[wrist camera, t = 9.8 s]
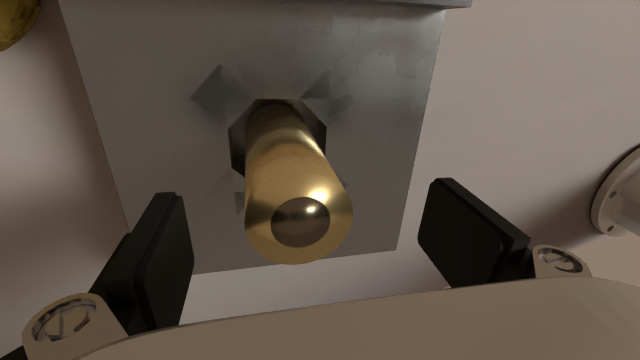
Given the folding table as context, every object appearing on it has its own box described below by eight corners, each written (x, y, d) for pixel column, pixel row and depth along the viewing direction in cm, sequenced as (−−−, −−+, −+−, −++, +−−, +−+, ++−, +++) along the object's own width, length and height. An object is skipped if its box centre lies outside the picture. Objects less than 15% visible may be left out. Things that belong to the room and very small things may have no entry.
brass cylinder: (307, 104, 19) (359, 171, 10) (305, 161, 21) (348, 259, 12) (243, 104, 18) (240, 178, 9) (247, 163, 20) (248, 271, 11)
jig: (410, -15, 19) (480, -32, 13) (374, 217, 27) (407, 268, 21) (91, -43, 15) (-2, -84, 9) (162, 237, 23) (135, 305, 18)
